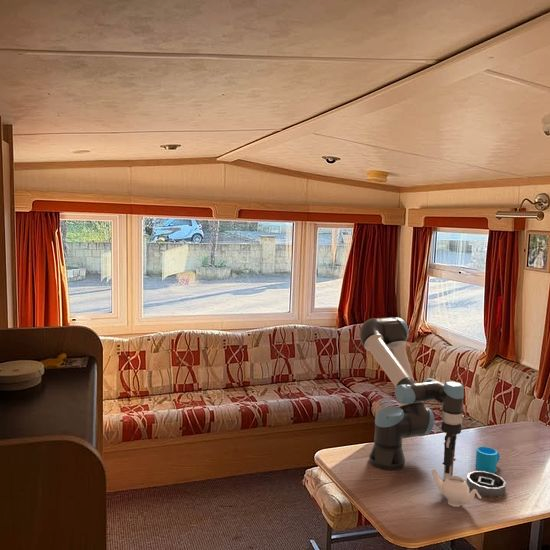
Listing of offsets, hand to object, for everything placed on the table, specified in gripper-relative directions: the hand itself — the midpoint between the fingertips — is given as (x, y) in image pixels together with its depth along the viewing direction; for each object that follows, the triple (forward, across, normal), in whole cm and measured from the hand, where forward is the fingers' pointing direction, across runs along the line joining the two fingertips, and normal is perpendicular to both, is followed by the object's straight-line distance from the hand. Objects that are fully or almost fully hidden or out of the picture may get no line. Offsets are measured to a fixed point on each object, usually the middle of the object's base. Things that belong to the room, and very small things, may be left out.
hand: (447, 477), depth 215 cm
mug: (+2, +22, -13) cm, 26 cm away
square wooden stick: (+2, 0, 0) cm, 2 cm away
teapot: (+2, -16, -5) cm, 16 cm away
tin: (+2, +3, -14) cm, 14 cm away
